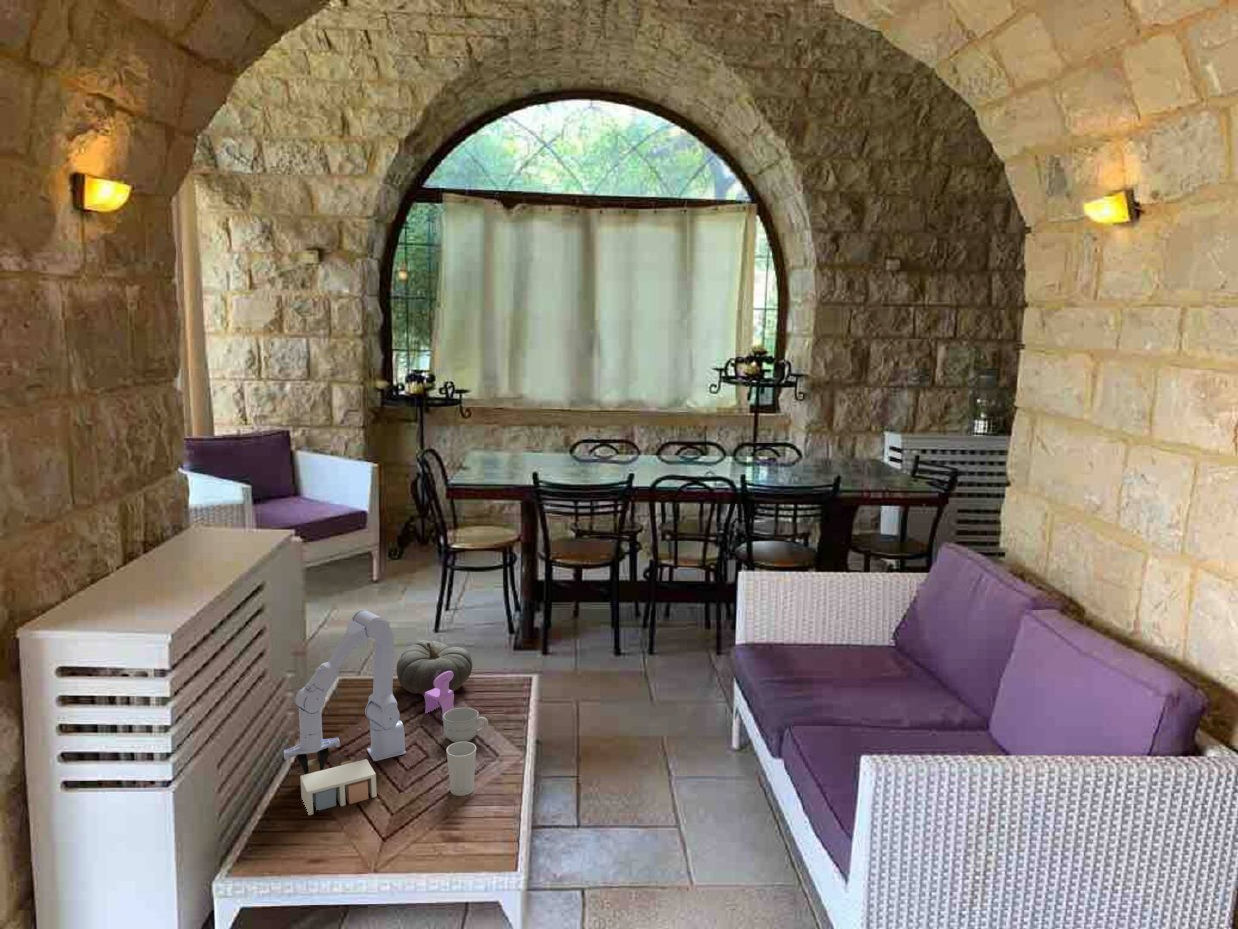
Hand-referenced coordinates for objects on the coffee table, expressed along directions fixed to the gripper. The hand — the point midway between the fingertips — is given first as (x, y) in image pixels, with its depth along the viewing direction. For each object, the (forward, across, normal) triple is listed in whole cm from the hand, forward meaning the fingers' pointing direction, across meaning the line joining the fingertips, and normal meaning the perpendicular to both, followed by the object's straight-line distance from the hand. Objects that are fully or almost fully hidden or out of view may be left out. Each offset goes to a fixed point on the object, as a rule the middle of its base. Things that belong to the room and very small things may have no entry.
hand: (313, 776), depth 238 cm
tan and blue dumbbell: (+1, 0, +7) cm, 7 cm away
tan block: (+1, -8, +10) cm, 13 cm away
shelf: (+1, -4, +12) cm, 13 cm away
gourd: (+2, -49, -40) cm, 64 cm away
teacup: (+2, -45, -2) cm, 45 cm away
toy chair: (+2, -44, -22) cm, 49 cm away
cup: (+2, -34, +24) cm, 42 cm away
